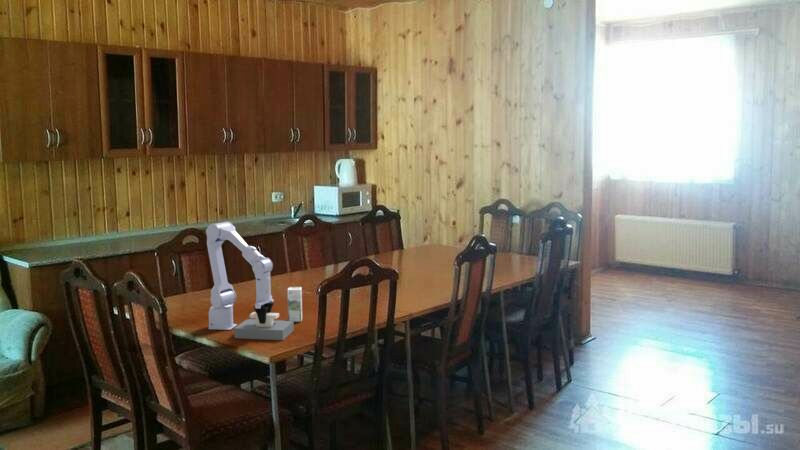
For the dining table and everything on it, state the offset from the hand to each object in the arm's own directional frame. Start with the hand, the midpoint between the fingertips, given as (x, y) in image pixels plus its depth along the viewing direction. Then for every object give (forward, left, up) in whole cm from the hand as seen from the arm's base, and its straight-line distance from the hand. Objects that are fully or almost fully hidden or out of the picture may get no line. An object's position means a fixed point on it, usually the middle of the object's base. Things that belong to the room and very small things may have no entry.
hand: (264, 321), depth 292 cm
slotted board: (0, 0, -5) cm, 5 cm away
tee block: (0, 0, -2) cm, 2 cm away
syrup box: (+6, +22, -5) cm, 23 cm away
